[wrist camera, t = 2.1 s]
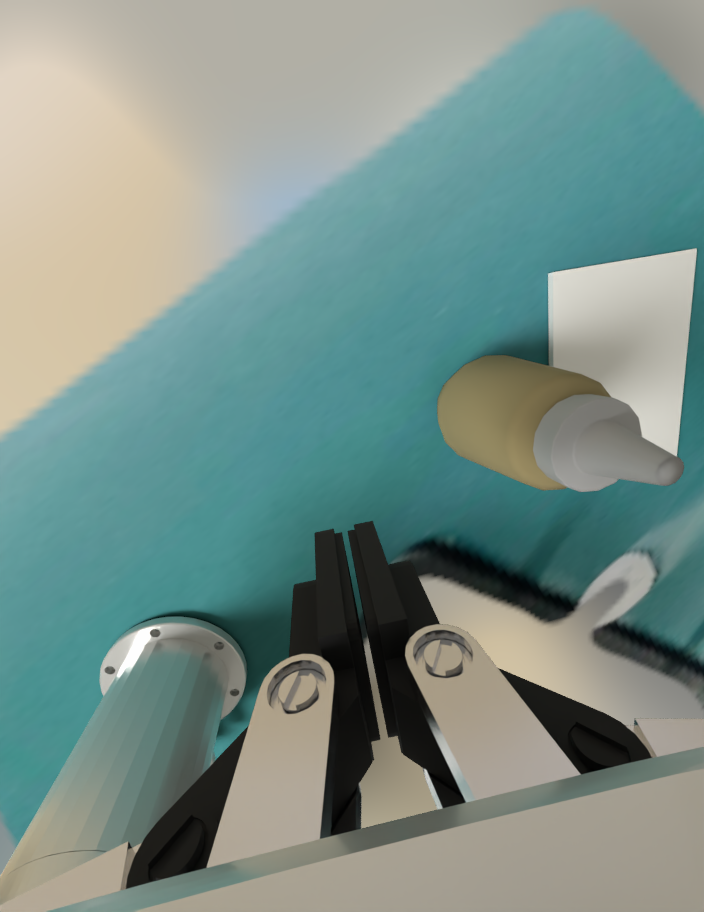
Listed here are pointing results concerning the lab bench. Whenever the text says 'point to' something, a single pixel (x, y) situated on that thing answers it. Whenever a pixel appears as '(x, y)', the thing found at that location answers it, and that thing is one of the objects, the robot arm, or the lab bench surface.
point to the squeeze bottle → (547, 427)
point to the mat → (628, 333)
